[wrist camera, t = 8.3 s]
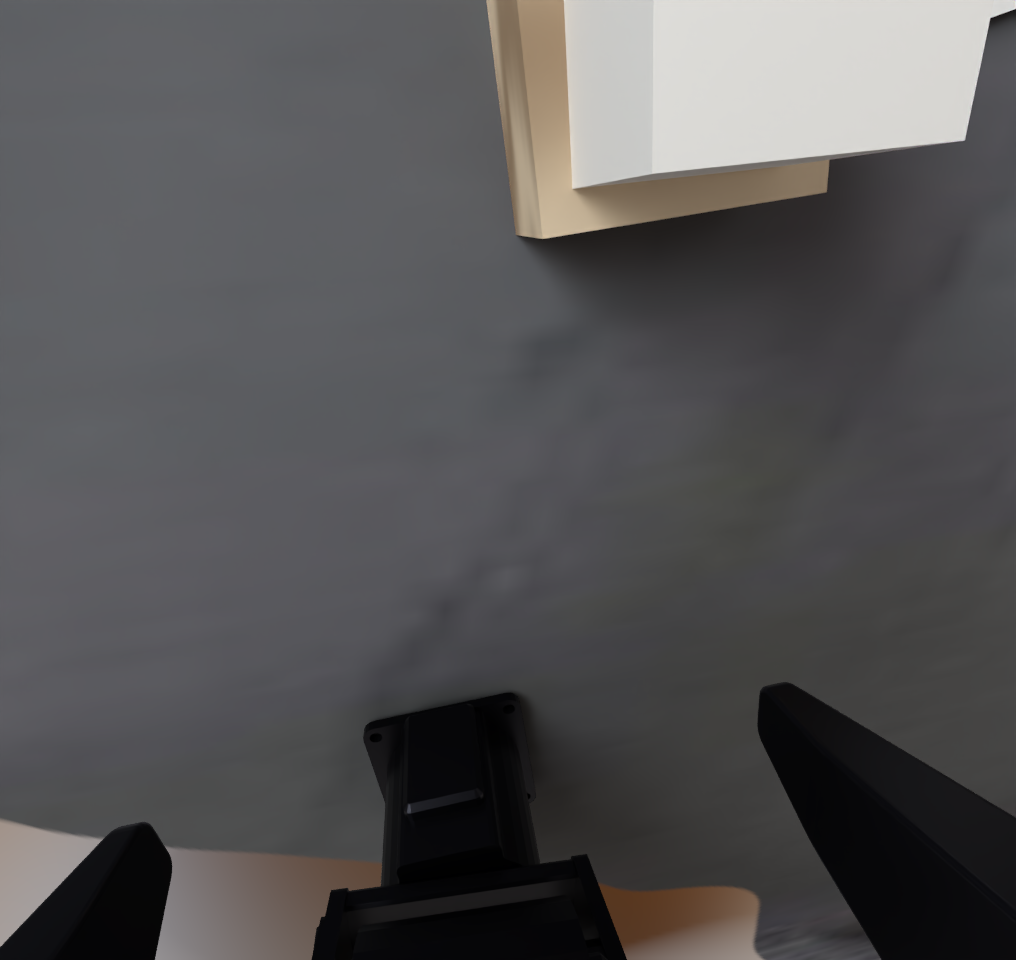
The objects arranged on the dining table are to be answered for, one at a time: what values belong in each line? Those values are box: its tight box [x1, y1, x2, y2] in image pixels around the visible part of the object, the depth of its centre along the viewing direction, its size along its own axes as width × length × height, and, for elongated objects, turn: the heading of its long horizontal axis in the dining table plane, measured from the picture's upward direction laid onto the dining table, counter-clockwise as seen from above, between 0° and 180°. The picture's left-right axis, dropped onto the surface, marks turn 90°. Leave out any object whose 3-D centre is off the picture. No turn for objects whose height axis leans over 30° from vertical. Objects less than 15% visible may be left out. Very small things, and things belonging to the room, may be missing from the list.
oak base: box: [487, 0, 829, 239], centre depth 14 cm, size 7×7×4 cm
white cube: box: [564, 0, 994, 189], centre depth 10 cm, size 5×5×5 cm
